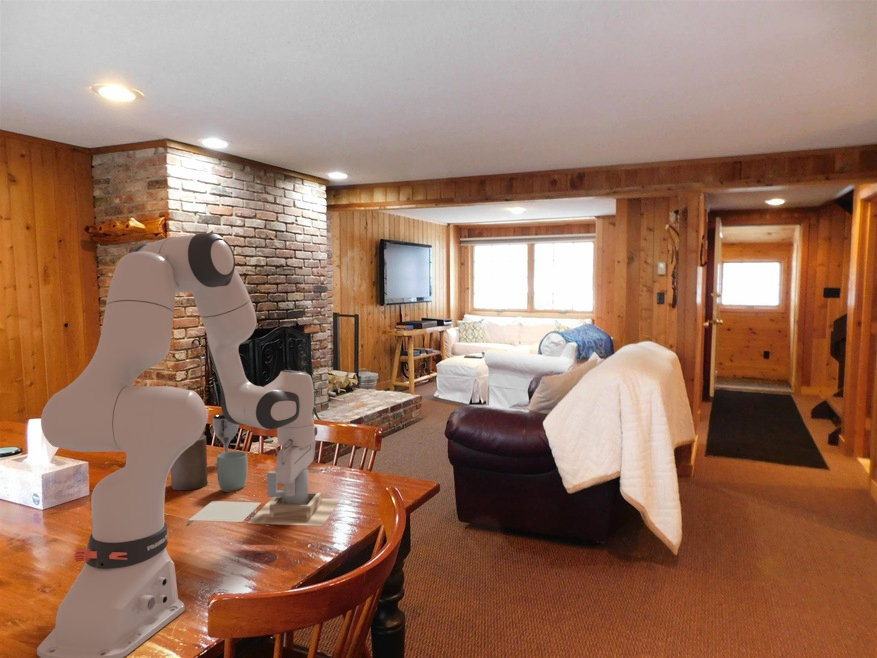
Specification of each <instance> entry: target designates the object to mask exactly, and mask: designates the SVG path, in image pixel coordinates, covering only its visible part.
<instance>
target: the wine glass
mask: <svg viewBox="0 0 877 658" xmlns="http://www.w3.org/2000/svg"><path fill="white" fill-rule="evenodd" d="M239 426H240V425H238V424H233V423H231V422H229V421H228V420H227V419H226V418H225V416H224V415H223V413H221V414H216V415H214V416H212V428H213V432H214V434H215V436H216V437H217V438H218V439H219V440H220V441H221V442H222V444H223V447H224V452H229V444H230V443H231V441H232V440H233V439H234V438H235V436H236V435H237V433H238V430H239ZM214 464H215V465H216V464H217V460H216V461H215V462H214Z"/></svg>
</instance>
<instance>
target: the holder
mask: <svg viewBox="0 0 877 658" xmlns="http://www.w3.org/2000/svg"><path fill="white" fill-rule="evenodd" d="M340 500H341V498H323V497H322V492H320V491H319V492H316V491H315V492H314V491H309V504H308V505H298V504H284V497H271V498H270V500H269V501H268V502H266V504H264V505H263V506H262V508H261V509H259V511H257V512H256V513H255V515H254V516H253V517H251V518H250V520H249V521H247V524H252V525H253V524H254V525H255V524H256V525H257V524H259V525H283V526H288V525H289V526H313V527H315V526H317V527H319V526H320V527H323V526H324V525H325V523H327V520H328V519H329V517H330V515H331V514H332V513H333V511H334V509H335V508H336V507H337V505H338V504H339V502H341V501H340Z"/></svg>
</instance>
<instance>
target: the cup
mask: <svg viewBox="0 0 877 658" xmlns="http://www.w3.org/2000/svg"><path fill="white" fill-rule="evenodd" d="M216 461H217V465H216V471H217V472H216V473H217V474H216V475H217V482H218V486H219V488H220V490H221V491H223V492H225V493H230V492H232V491H237V490H241V489H243V488H244V487H245V486H246V484H247V480H248V453H247V452H246V451H239V450H231V451H228V452H225V451H223V452H222V453H219V454H218V455H217V457H216Z"/></svg>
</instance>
